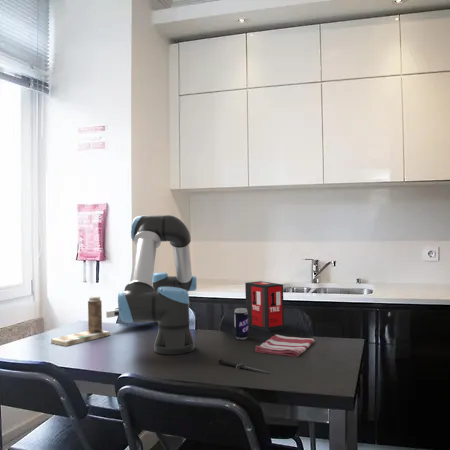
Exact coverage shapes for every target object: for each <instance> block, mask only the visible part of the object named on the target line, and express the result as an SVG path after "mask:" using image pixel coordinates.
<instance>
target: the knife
mask: <svg viewBox="0 0 450 450" xmlns="http://www.w3.org/2000/svg"><path fill="white" fill-rule="evenodd" d="M217 362H218V363H219V364H225V365H228V366H232V367H235V370H239V369H244V370H248V371H253V372H256V373H260V374H261V373H262V374H266V375H273V376H274V375H275V374H274V373H271V372H267V371H265V370H261V369H257V368H254V367H250V366H246V363H236V362H233V361H227V360H224V359H222V358H221V359H219V360H218V361H217Z"/></svg>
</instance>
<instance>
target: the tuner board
mask: <svg viewBox="0 0 450 450" xmlns="http://www.w3.org/2000/svg"><path fill="white" fill-rule="evenodd" d="M102 331H103V332H96V333H93V332H89V330H85V331H81V332H77V333H76V332H75V333H72V334H68V335H63V336H59V337H54V338H51V340H50V341H51V342H50V343H51V344H55V345H60V346H64V347H68V346H72V345H76V344H80V343H83V342H89V341H93V340H96V339H97V340H98V339H100V337H101V338H104V336H105V337H107V336H108V335H109V336H111V331H107V330H103V329H102Z"/></svg>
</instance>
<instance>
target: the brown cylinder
mask: <svg viewBox="0 0 450 450" xmlns="http://www.w3.org/2000/svg"><path fill="white" fill-rule="evenodd" d="M102 308H103V307H102V300H101V296H89V297H88V301H87V311H88V312H87V319H88V328H87V329H88V331H89V332H93V333H96V332H103V331H102V330H103V319H102V317H103V314H102V312H103V311H102V310H103V309H102Z"/></svg>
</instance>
